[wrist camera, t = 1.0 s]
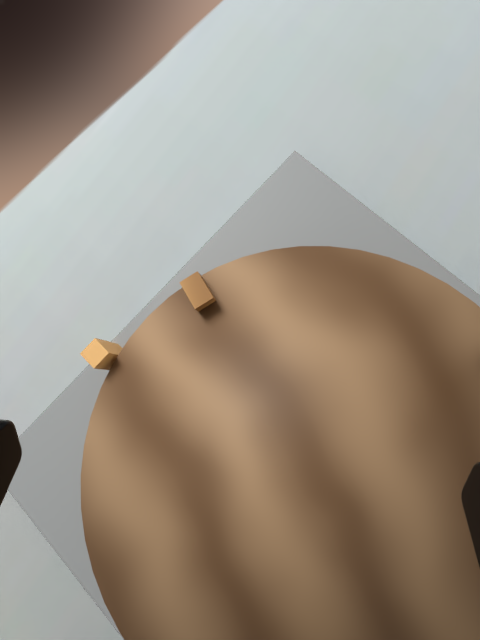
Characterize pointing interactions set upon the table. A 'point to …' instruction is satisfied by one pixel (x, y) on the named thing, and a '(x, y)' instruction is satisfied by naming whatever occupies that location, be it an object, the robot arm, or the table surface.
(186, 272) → the base plate
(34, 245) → the table surface
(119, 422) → the round wooden board
